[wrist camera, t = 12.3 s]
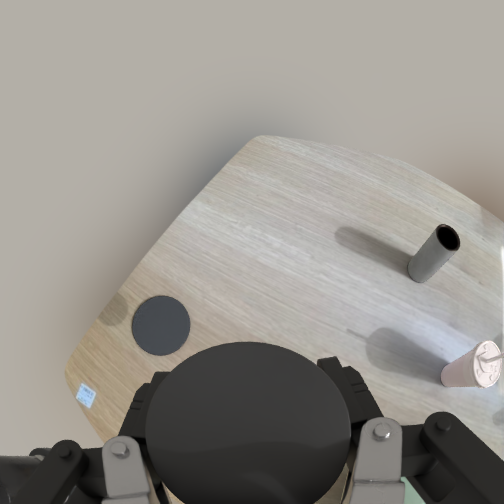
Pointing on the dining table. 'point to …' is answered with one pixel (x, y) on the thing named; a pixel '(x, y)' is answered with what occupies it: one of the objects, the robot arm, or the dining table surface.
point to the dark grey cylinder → (248, 427)
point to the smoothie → (474, 367)
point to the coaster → (161, 325)
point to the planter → (434, 253)
